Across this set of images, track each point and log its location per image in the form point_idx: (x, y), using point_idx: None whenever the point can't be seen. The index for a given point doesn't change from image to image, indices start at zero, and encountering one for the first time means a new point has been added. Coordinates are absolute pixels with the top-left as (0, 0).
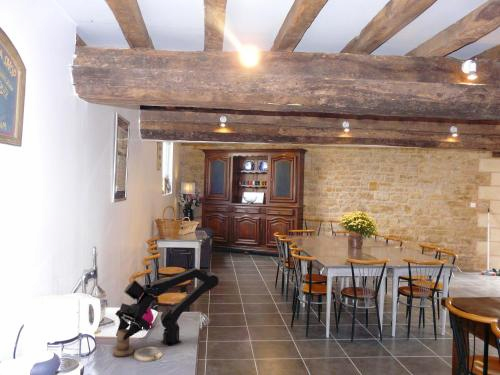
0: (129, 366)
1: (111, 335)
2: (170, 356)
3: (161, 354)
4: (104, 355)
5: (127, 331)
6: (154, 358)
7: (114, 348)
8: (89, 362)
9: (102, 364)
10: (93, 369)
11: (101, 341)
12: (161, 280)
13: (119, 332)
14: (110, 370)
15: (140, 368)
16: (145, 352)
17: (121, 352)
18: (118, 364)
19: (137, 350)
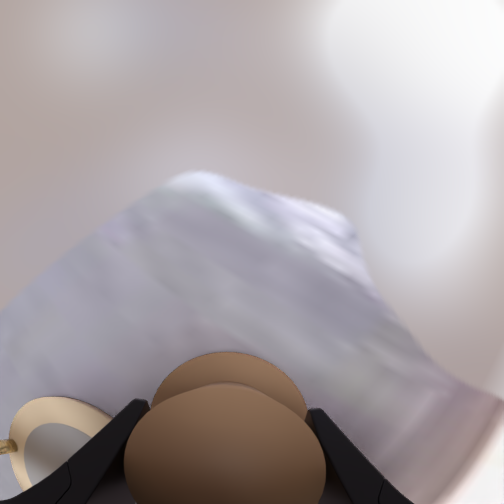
0: (52, 313)
1: (487, 459)
2: (12, 495)
3: (19, 483)
4: (300, 316)
5: (93, 467)
6: (11, 435)
7: (289, 385)
8: (275, 208)
9: (192, 236)
10: (183, 181)
11: (473, 394)
12: None
13: (227, 415)
14: (102, 224)
15: (7, 327)
16: None
17: (175, 375)
18: (114, 293)
19: None
